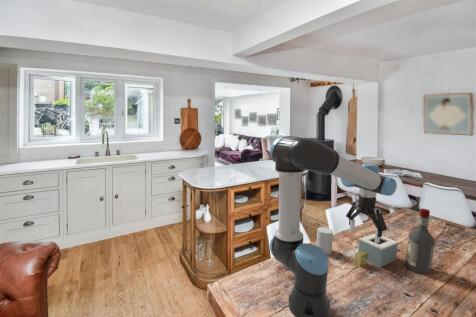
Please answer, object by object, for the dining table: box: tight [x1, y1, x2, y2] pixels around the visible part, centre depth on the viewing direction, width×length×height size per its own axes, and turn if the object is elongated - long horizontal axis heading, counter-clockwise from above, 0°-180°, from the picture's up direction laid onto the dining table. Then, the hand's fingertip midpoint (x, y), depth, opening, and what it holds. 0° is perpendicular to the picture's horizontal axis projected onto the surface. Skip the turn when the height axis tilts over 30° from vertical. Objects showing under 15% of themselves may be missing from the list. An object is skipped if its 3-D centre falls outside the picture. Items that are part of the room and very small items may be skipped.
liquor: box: [405, 208, 436, 275], centre depth 126 cm, size 9×9×30 cm
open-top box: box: [358, 232, 399, 268], centre depth 136 cm, size 14×12×10 cm
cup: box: [315, 226, 334, 256], centre depth 143 cm, size 8×8×12 cm
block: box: [354, 251, 368, 268], centre depth 131 cm, size 6×3×6 cm, turn 120°
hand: (363, 237), depth 129 cm, fingers open, 13 cm apart
